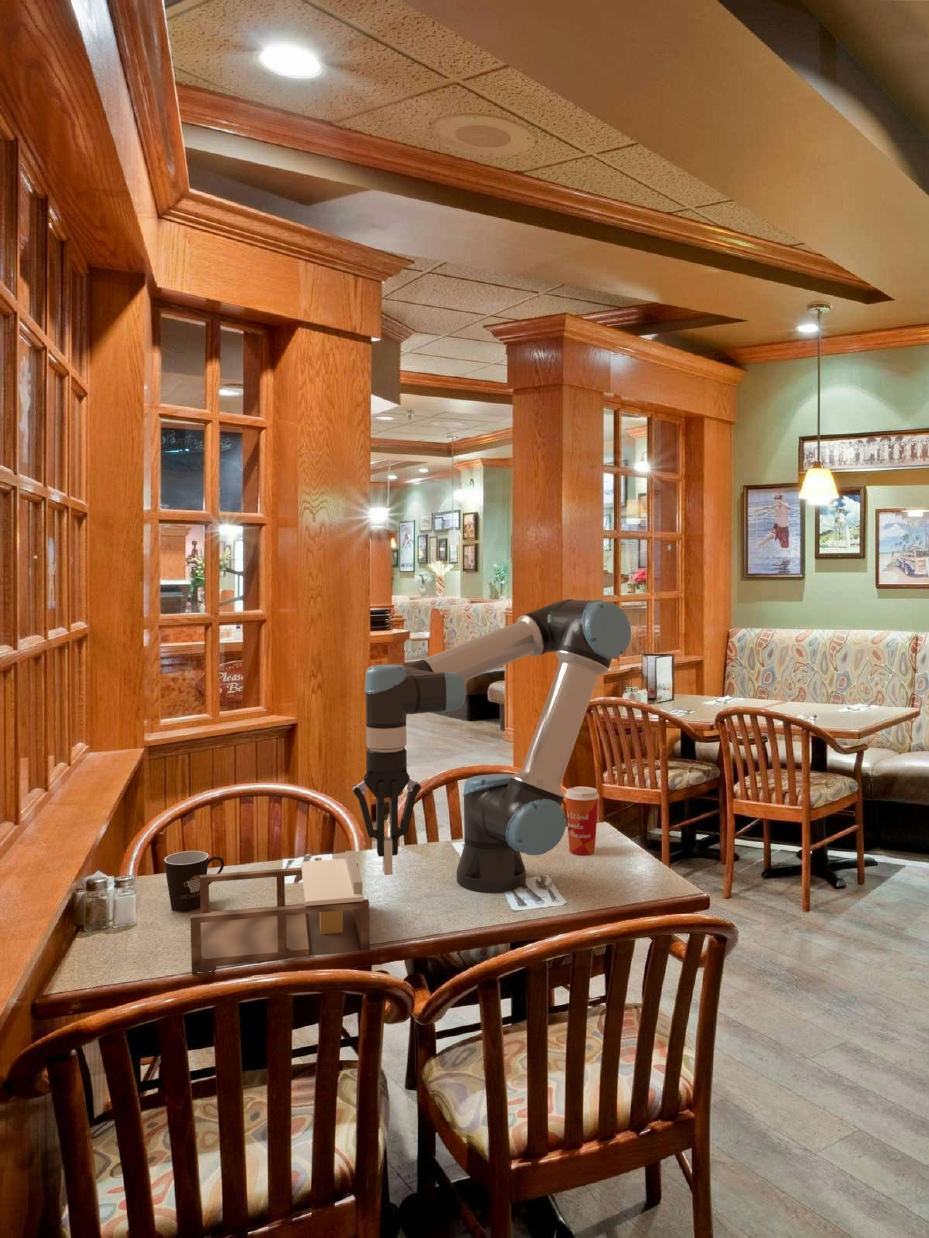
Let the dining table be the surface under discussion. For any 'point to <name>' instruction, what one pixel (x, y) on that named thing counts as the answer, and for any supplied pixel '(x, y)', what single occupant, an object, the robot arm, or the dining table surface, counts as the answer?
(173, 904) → the coffee mug
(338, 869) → the lid
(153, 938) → the dining table surface
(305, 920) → the wooden organizer rack
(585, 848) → the coffee cup
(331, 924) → the block
